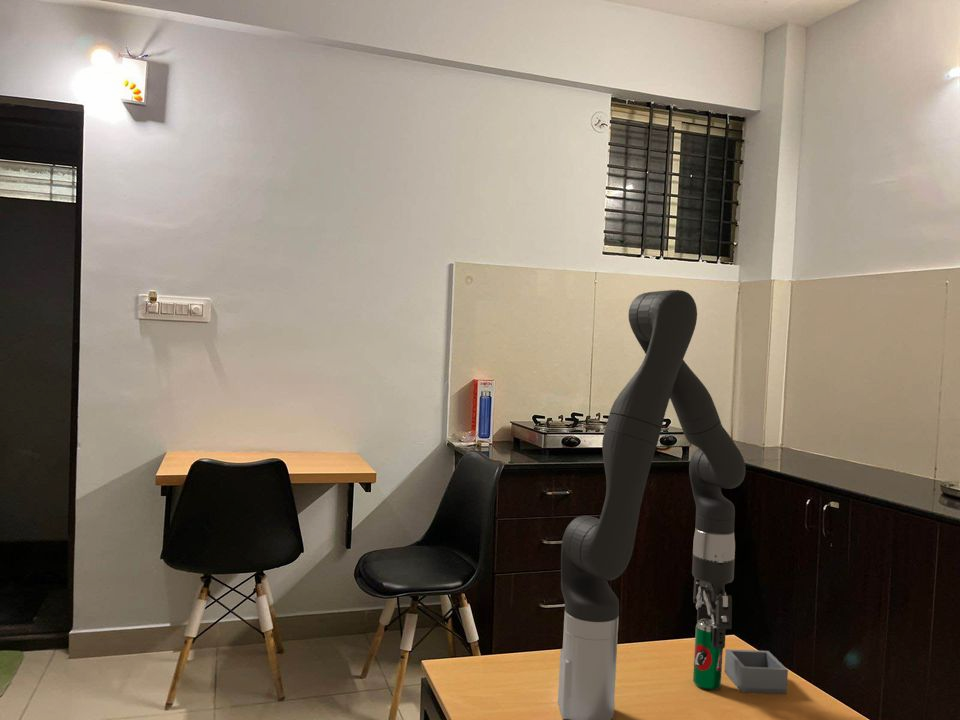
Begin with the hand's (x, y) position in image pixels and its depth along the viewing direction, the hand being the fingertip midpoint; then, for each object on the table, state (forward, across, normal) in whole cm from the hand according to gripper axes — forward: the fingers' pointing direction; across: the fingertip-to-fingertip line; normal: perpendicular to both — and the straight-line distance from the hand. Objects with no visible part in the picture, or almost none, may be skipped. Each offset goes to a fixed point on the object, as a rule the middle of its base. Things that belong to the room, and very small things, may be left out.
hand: (710, 638), depth 138 cm
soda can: (+9, 0, 0) cm, 9 cm away
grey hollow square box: (+9, -2, +10) cm, 13 cm away
